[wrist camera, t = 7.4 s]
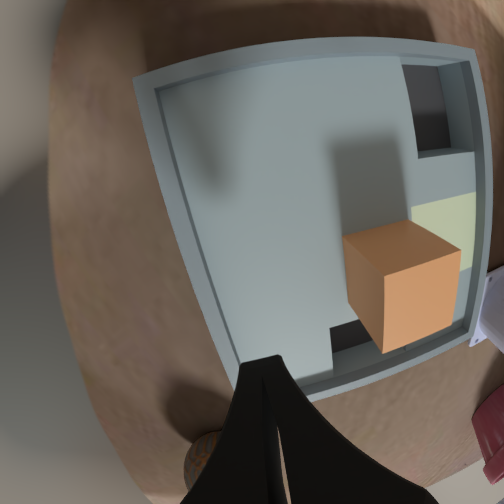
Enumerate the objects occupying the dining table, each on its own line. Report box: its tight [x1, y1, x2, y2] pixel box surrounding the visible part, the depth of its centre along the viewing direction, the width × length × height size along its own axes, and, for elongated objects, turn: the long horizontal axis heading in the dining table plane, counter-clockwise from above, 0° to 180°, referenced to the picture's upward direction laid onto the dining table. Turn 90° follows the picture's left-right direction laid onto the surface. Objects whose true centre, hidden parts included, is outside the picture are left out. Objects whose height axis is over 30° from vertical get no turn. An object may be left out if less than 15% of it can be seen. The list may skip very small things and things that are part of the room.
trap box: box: [132, 37, 493, 402], centre depth 15 cm, size 18×20×3 cm
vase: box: [184, 431, 221, 491], centre depth 20 cm, size 7×7×9 cm
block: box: [342, 219, 461, 354], centre depth 13 cm, size 4×4×4 cm
